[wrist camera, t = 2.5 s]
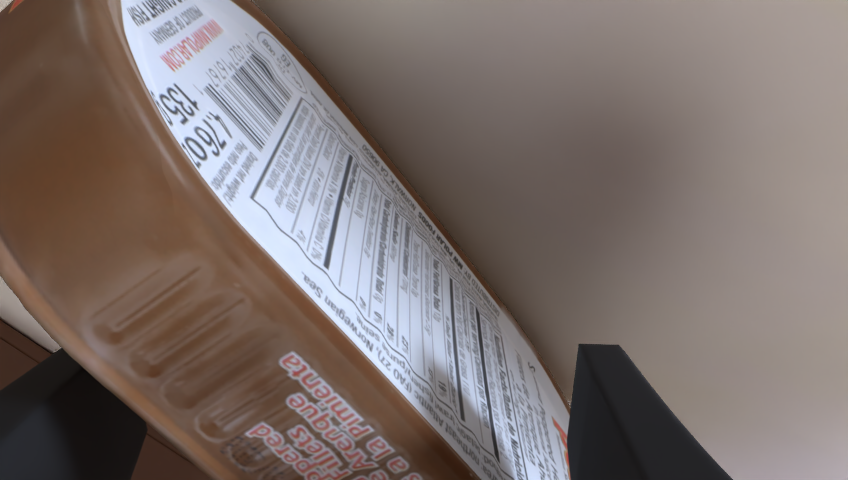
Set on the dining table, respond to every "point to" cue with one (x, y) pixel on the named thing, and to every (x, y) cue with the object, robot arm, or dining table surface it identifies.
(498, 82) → the dining table surface
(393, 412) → the tin
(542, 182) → the dining table surface
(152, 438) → the tray
